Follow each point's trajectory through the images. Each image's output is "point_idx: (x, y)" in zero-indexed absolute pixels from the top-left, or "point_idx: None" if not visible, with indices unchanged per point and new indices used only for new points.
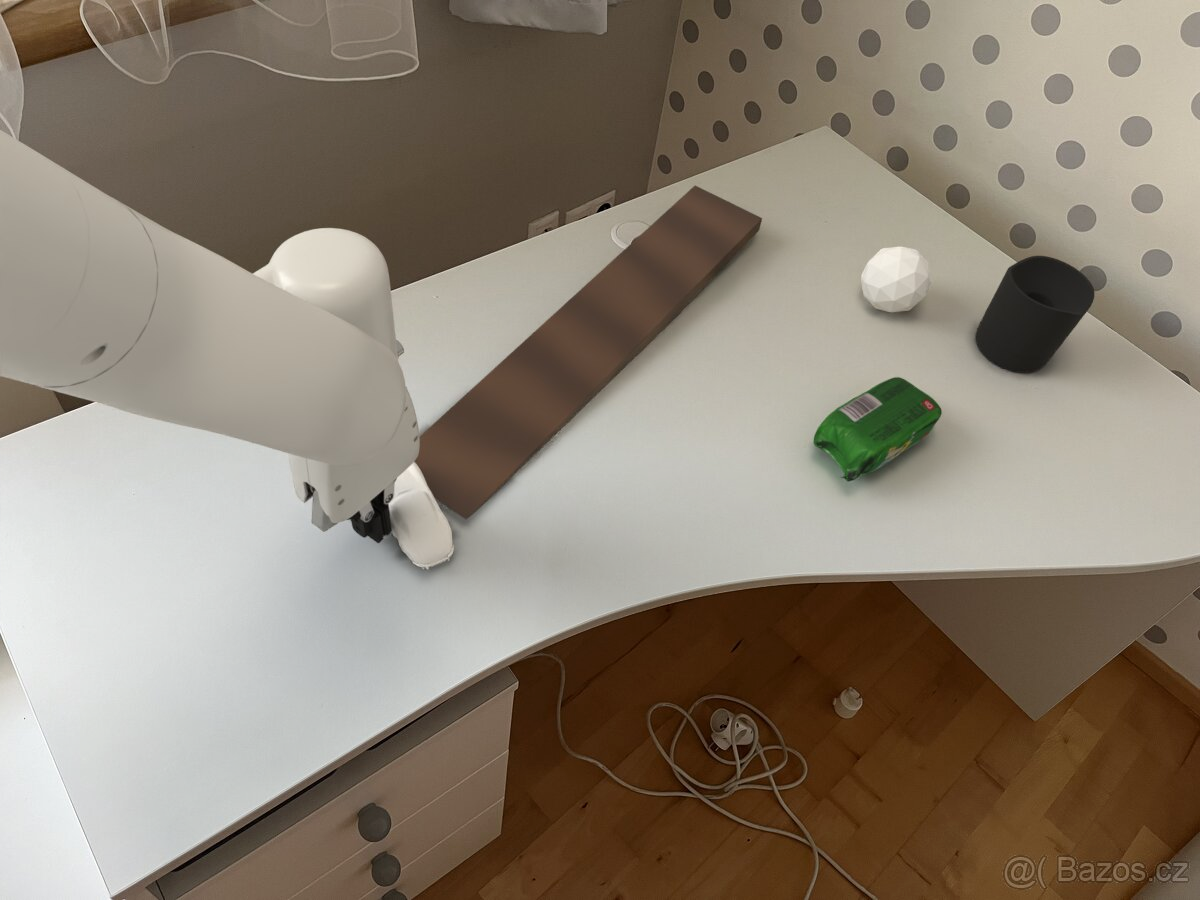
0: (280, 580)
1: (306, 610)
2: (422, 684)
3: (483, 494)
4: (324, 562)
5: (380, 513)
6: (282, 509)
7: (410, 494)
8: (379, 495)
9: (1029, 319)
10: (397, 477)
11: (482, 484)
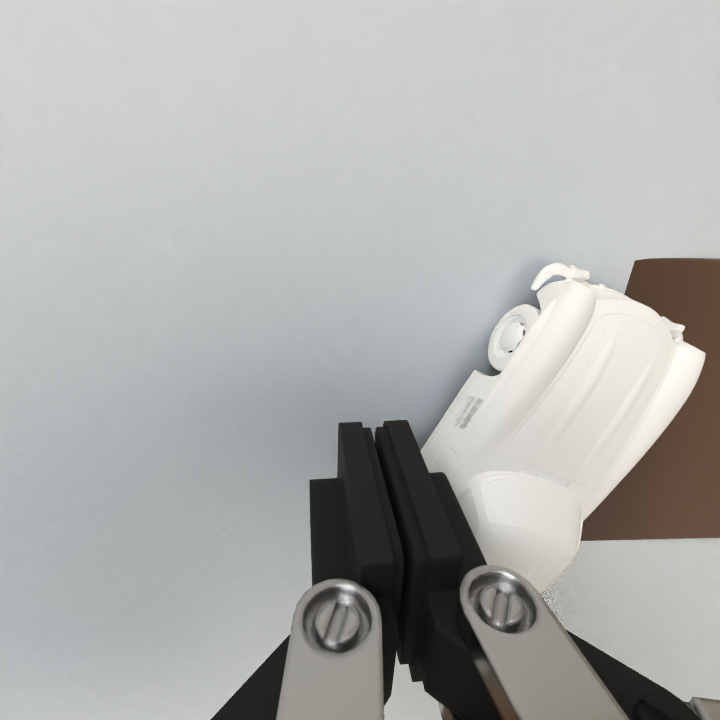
0: (13, 329)
1: (31, 466)
2: (152, 714)
3: (636, 528)
4: (187, 385)
5: (397, 647)
6: (225, 53)
7: (549, 544)
8: (460, 718)
9: None
10: (601, 416)
11: (666, 509)
